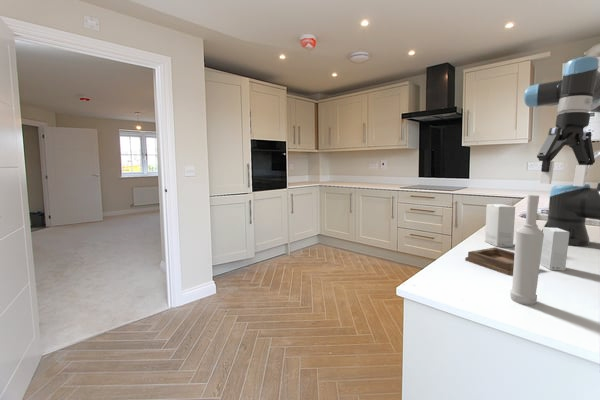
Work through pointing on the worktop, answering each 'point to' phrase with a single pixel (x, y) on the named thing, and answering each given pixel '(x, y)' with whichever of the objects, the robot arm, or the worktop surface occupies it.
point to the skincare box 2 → (554, 248)
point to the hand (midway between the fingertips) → (562, 185)
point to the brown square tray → (493, 259)
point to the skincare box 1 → (500, 225)
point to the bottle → (527, 256)
